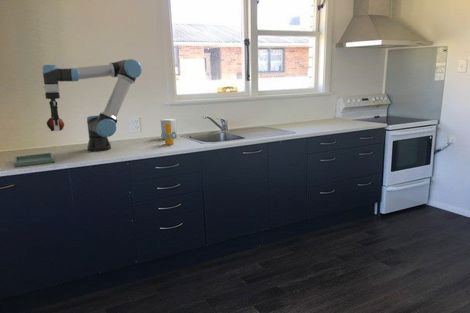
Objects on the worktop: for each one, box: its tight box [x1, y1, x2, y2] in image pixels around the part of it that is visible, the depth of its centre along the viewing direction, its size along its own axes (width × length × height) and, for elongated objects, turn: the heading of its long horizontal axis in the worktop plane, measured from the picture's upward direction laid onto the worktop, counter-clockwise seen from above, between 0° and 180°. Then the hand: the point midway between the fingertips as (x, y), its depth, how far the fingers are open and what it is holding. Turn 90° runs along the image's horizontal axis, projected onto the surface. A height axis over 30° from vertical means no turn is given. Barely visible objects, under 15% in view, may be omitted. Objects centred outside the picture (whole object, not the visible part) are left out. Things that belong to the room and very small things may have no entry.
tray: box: [13, 152, 55, 168], centre depth 219 cm, size 20×20×2 cm
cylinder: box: [160, 123, 178, 146], centre depth 263 cm, size 12×10×15 cm
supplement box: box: [160, 118, 178, 140], centre depth 288 cm, size 9×9×15 cm
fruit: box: [46, 114, 65, 132], centre depth 220 cm, size 9×10×10 cm
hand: (56, 130), depth 221 cm, fingers closed on fruit, 9 cm apart
